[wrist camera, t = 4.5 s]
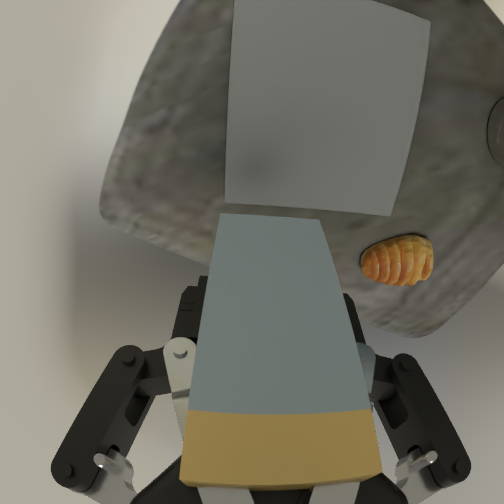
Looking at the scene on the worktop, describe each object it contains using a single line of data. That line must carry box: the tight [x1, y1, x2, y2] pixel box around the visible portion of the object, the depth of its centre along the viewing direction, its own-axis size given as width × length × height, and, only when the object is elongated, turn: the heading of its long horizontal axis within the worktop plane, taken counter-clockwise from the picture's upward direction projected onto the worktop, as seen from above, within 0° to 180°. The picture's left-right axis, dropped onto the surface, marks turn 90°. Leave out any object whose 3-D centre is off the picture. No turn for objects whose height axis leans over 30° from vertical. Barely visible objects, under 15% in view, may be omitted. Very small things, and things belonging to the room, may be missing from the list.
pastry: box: [361, 235, 434, 286], centre depth 33 cm, size 9×7×4 cm
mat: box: [225, 0, 431, 216], centre depth 24 cm, size 18×22×1 cm
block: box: [179, 213, 382, 491], centre depth 12 cm, size 5×5×12 cm
